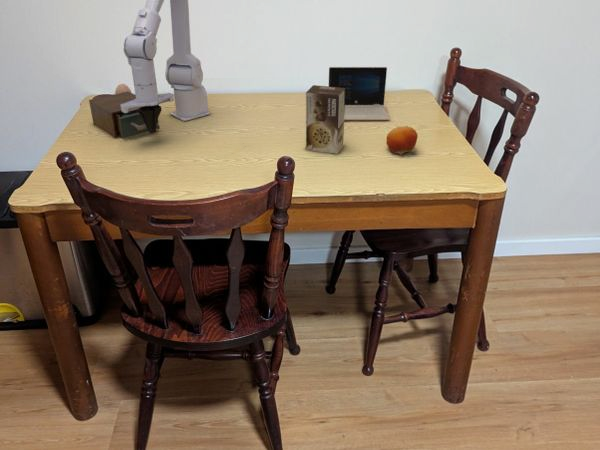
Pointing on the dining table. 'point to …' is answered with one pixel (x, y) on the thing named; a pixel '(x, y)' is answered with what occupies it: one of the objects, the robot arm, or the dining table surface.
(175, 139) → the dining table surface
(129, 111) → the grey plastic pail
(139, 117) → the drawer
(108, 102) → the cabinet
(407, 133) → the fruit
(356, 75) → the laptop
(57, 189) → the dining table surface
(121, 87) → the egg
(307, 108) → the cookie box
